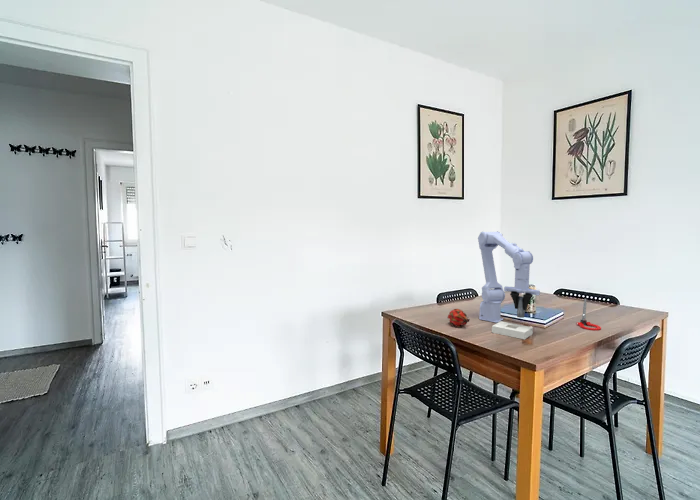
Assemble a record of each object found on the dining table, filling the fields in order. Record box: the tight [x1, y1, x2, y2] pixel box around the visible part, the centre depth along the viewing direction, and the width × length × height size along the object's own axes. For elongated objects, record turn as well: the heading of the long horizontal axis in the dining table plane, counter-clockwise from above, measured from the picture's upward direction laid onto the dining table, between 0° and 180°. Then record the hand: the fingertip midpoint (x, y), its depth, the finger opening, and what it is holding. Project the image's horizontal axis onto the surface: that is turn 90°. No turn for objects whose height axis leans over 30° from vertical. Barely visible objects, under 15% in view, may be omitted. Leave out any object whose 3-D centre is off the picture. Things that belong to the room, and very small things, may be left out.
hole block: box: [491, 320, 534, 340], centre depth 166 cm, size 14×10×3 cm
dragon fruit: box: [447, 308, 470, 328], centre depth 178 cm, size 8×8×12 cm
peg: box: [516, 295, 526, 319], centre depth 166 cm, size 3×3×9 cm
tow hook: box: [575, 298, 602, 332], centre depth 173 cm, size 8×13×9 cm
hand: (520, 309), depth 167 cm, fingers closed on peg, 3 cm apart
